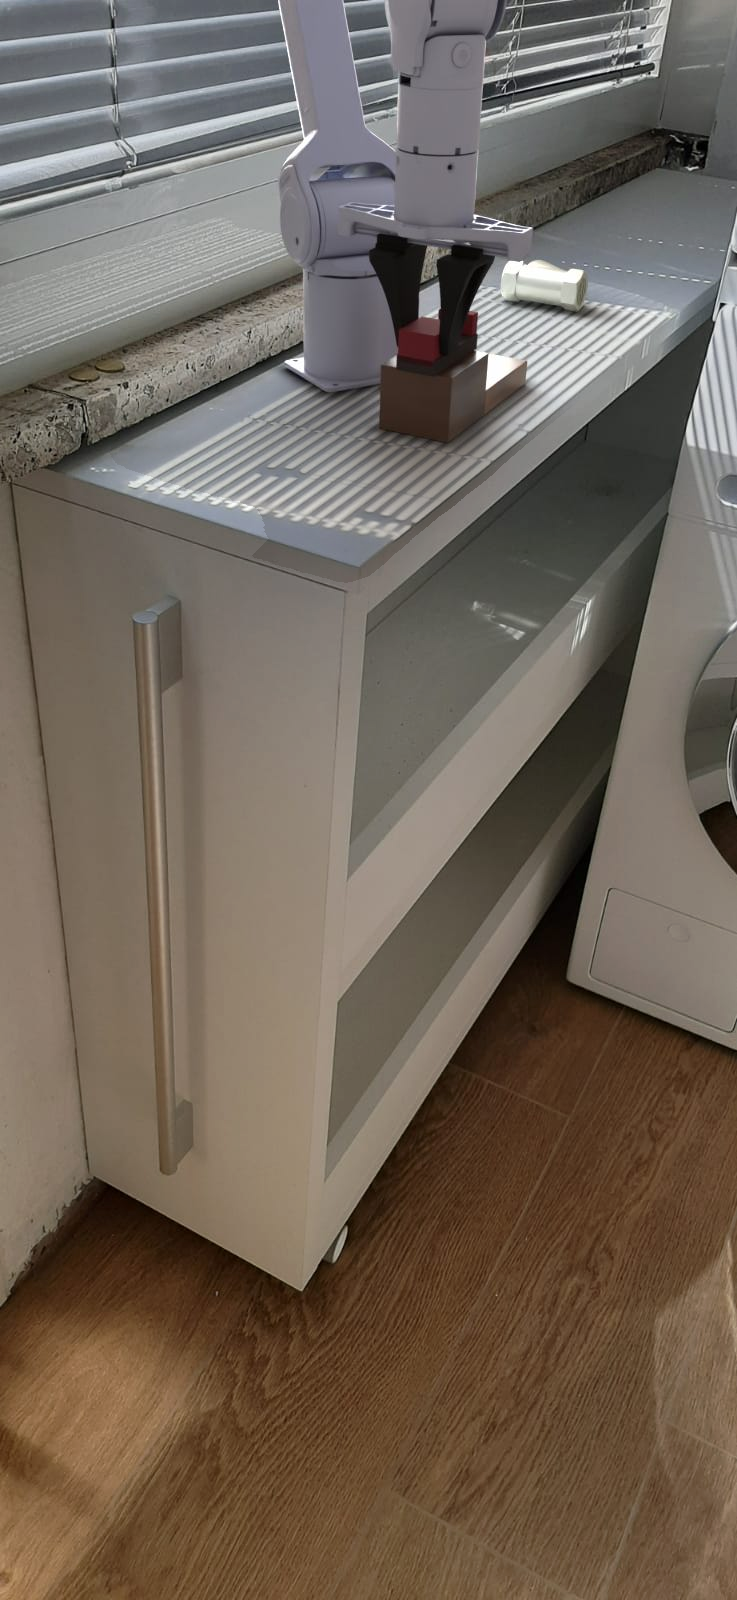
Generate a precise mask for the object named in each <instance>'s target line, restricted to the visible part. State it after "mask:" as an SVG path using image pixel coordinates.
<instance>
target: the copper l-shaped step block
mask: <svg viewBox="0 0 737 1600" xmlns="http://www.w3.org/2000/svg"><path fill="white" fill-rule="evenodd" d="M396 361H397V355H396V356H394V357H393V358H391V359H389V360H388V361H386V362H384V363H383V364H381V381H380V384H379V386H380V387H379V390H380V391H379V413H378V417H379V418H378V428H379V429H381V430H387V431H391V432H395V433H401V434H405V435H410V436H414V437H419V438H424V439H428V440H432V441H439V442H442V443H446V444H447V443H450V442H451V441H452V440H454V439H455V438H456V437H457V436H459V435H460V434H461V433H463V432H464V431H465V430H466V429H468V428H469V427H471V426H472V425H473V424H475V423H476V422H477V421H478V420H480V419H481V418H482V417H484V415H487V413H489V412H491V410H492V409H494V408H495V407H497V406H498V405H499V404H501V403H502V402H503V401H504V400H506V399H507V398H508V397H510V396H511V395H512V394H513V393H515V392H516V391H517V390H519V389H520V388H522V387H523V386H524V385H525V384H526V380H527V370H528V360H525V359H520V358H515V357H511V356H503V355H498V354H492V353H489V352H485V351H478V350H474V351H472V352H471V353H469V354H468V355H466V356H465V357H463V358H462V359H460V360H459V361H457V362H456V363H454V364H453V365H451V366H450V367H448V368H447V369H445V370H444V371H442V372H441V373H439V374H438V375H436V376H435V377H432V376H427V375H421V374H416V373H411V372H406V371H401V370H396Z"/></svg>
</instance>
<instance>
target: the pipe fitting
mask: <svg viewBox="0 0 737 1600" xmlns="http://www.w3.org/2000/svg"><path fill="white" fill-rule="evenodd" d="M503 268H504V269H503V271H502V275H501V278H500V279H501V280H500V293H501V297H503V298H504V299H505V300H506V301H510V302H517V303H519V302H520V301H521V300H522V301H527V302H533V303H539V304H540V303H541V304H546V305H552V306H558V307H562V308H563V310H565V311H570V312H577V313H578V312H579V311H580V310H581V309H582V307H583V305H584V304H585V300H586V297H587V294H588V288H589V278H588V274H587V273H586V271H585V270H583V269H577V268H570V269H569V270H564V269H562V268H561V267H558V266H556V265H554V264H552V263H550V262H548V261H545V260H543V259H535V260H532V261H530V262H529V263H528V264H527V263H526V262H525V261H524V260H523V261H521V262H514V261H508V262H507V263H506V264H505V266H504V267H503Z"/></svg>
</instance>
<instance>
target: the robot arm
mask: <svg viewBox="0 0 737 1600" xmlns="http://www.w3.org/2000/svg"><path fill="white" fill-rule="evenodd" d="M277 1H278V7H279V12H280V18H281V23H282V28H283V33H284V39H285V44H286V50H287V55H288V62H289V66H290V71H291V78H292V82H293V87H294V93H295V98H296V104H297V109H298V114H299V121H300V125H301V131H302V137H303V141H302V142H301V143H300V144H299V145H298V146H297V147H296V149H295V150H293V152H292V153H291V154H290V155H289V156H288V157H287V159H286V160H285V162H284V163H283V164H282V166H281V168H280V171H279V174H278V176H277V187H278V195H279V228H280V229H279V230H280V234H281V239H282V242H283V246H284V247H285V250H286V253H287V254H288V256H289V257H290V258H291V259H292V261H293V262H294V263H295V264H296V265H297V266H300V268H302V325H303V327H302V328H303V329H302V330H303V331H302V332H303V335H302V336H303V337H302V338H303V357H298V358H293V359H286V360H285V361H284V367H285V368H287V369H288V370H290V371H292V372H293V373H294V374H296V375H298V376H299V377H301V378H303V379H304V380H306V381H308V382H309V383H311V384H313V385H314V386H316V387H317V388H320V389H321V390H323V391H324V392H326V393H336V392H341V391H347V390H353V389H359V388H364V387H369V386H370V387H371V386H374V385H380V381H381V364H383V363H384V362H386V361H388V360H389V359H391V358H393V357H394V356H396V355H397V354H398V340H399V329H401V328H403V327H405V326H406V325H408V324H410V323H412V322H413V321H415V320H417V319H419V318H420V291H421V284H422V283H421V282H422V276H423V269H424V264H425V258H426V254H427V249H428V247H432V248H433V247H434V248H439V249H446V250H450V253H447V254H445V255H443V256H441V257H439V258H437V259H436V264H435V265H436V271H437V278H438V287H439V299H440V300H439V303H440V305H439V306H440V308H441V314H440V327H439V352H440V355H444V356H449V355H450V354H452V353H453V352H455V351H457V350H458V348H459V343H460V339H461V335H462V331H463V328H464V324H465V321H466V318H467V315H468V313H469V311H471V307H472V305H473V302H474V300H475V297H476V295H477V294H478V291H479V289H480V287H481V285H482V283H483V281H484V279H485V277H486V275H487V274H488V273H489V271H490V269H491V267H492V265H493V264H494V261H495V258H496V257H500V258H505V259H506V260H507V261H508V262H509V261H514V262H521V261H523V262H524V261H526V260H527V259H528V258H530V257H531V256H532V244H533V235H534V228H533V227H530V226H523V225H518V224H514V223H509V222H505V221H501V220H497V219H494V218H490V217H485V216H481V215H478V214H475V208H476V192H477V191H476V190H477V176H478V162H479V149H480V148H479V147H480V134H481V119H482V105H483V104H482V103H483V88H484V76H485V63H486V61H485V60H486V49H487V48H486V47H487V42H489V41H490V40H492V39H493V38H495V36H496V35H497V33H498V32H499V30H500V28H501V26H502V23H503V20H504V17H505V13H506V10H507V9H506V8H507V3H508V0H383V1H384V11H385V18H386V22H387V26H388V30H389V34H390V44H391V45H390V46H391V47H390V61H392V69H393V71H395V72H398V80H397V81H398V85H397V109H396V110H397V111H396V113H397V114H396V115H397V116H396V143H395V144H396V145H395V146H396V147H395V149H394V148H393V147H391V146H390V145H389V144H388V143H387V142H385V141H384V140H383V139H382V138H380V137H378V136H377V135H376V134H374V133H373V132H372V131H371V130H370V129H369V128H368V127H367V126H366V122H365V117H364V110H363V105H362V99H361V94H360V89H359V88H360V87H359V82H358V76H357V71H356V66H355V65H356V64H355V59H354V53H353V49H352V42H351V38H350V31H349V26H348V20H347V14H346V9H345V8H346V7H345V3H344V0H277Z"/></svg>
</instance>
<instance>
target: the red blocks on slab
mask: <svg viewBox="0 0 737 1600" xmlns="http://www.w3.org/2000/svg"><path fill="white" fill-rule="evenodd" d="M437 314H438V315H437V318H433V317H427V316H419V319H417V320H415V321H413V322H412V323H410V324H408V325H406V326H405V327H403V328H401V329H399V340H398V354H397V361H396V370H401V371H406V372H411V373H416V374H421V375H427V376H432V377H435V376H436V375H438V374H439V373H441V372H442V371H444V370H445V369H447V368H448V367H450V366H451V365H453V364H454V363H456V362H457V361H459V360H460V359H462V358H463V357H465V356H466V355H468V354H469V353H471V352H472V351H476V350H477V349H478V338H479V334H478V321H479V320H478V318H479V312H477V311H472V310H469V313H468V315H467V318H466V321H465V324H464V328H463V331H462V335H461V339H460V343H459V348H458V350H457V351H455V352H453V353H452V354H450V355H449V356H444V355H440V352H439V327H440V314H441V307H440V308H438V313H437Z"/></svg>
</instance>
